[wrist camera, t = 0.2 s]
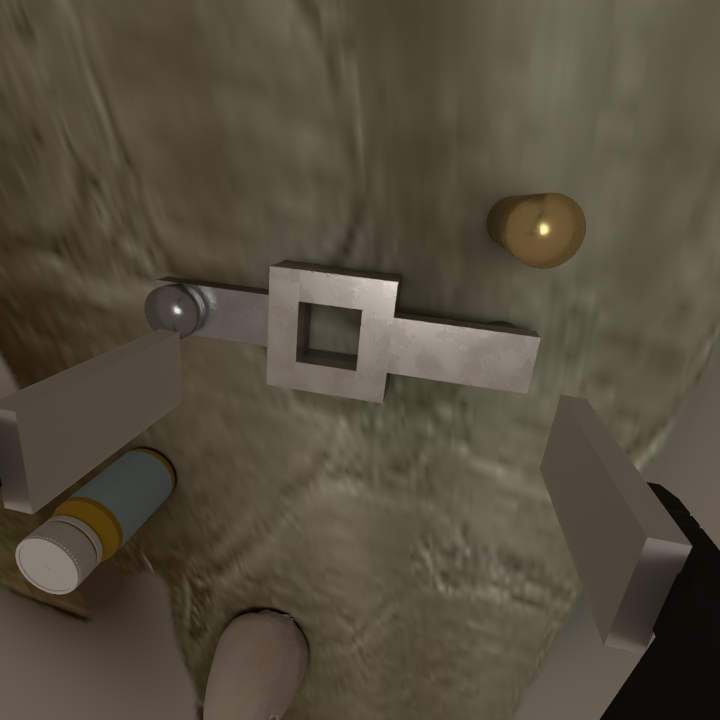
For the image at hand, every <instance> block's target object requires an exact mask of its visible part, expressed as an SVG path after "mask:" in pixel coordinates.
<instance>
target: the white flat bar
mask: <svg viewBox="0 0 720 720" xmlns="http://www.w3.org/2000/svg"><path fill="white" fill-rule="evenodd" d="M401 280H402V275H399V274H391V273H383V272H375V271H367V270H358V269H350V268H342V267H334V266H326V265H318V264H310V263H302V262H294V261H286V260H285V261H282V262H279V263H277V264H274V265H271V266H270V273H269V290H264V289H257V288H249V287H242V286H234V285H227V284H219V283H212V282H204V281H197V280H189V279H182V278H174V277H165V278H161V279H157V280H156V289H154V290H153V291H152V292H151V293H150V294H149V295H148V297H147V299H146V302H145V315H146V318H147V321H148V323H149V325H150V326H151V327H152V329H153V330H154V331H156V330H158V329H163V330H169V331H175V332H180V339H182V338H184V337H186V336H188V335H194V336H200V337H207V338H213V339H220V340H227V341H233V342H240V343H247V344H253V345H260V346H266V347H268V349H267V385H273V386H279V387H285V388H291V389H297V390H303V391H310V392H316V393H322V394H328V395H334V396H340V397H346V398H353V399H359V400H365V401H371V402H377V403H383V401H384V398H385V395H386V392H387V388H388V383H389V375H390V373H392V374H399V375H405V376H412V377H418V378H425V379H431V380H438V381H444V382H451V383H458V384H464V385H471V386H477V387H484V388H490V389H497V390H503V391H510V392H516V393H523V394H527V393H528V389H529V384H530V380H531V376H532V372H533V368H534V364H535V360H536V356H537V352H538V347H539V343H540V339H541V337H540V336H539V334H538V333H537V332H536V331H531V330H523V329H519V328H517V327H516V326H515V325H513V324H511V323H508V322H504V321H495V322H490V323H487V324H479V323H472V322H464V321H457V320H449V319H442V318H435V317H427V316H420V315H412V314H405V313H398V304H399V296H400V288H401ZM311 303H315V304H323V305H330V306H337V307H345V308H352V309H359V310H362V318H361V328H360V339H359V349H358V356H355V355H348V354H341V353H334V352H328V351H321V350H314V349H308V342H309V325H310V308H311Z"/></svg>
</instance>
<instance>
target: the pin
mask: <svg viewBox="0 0 720 720" xmlns="http://www.w3.org/2000/svg"><path fill="white" fill-rule="evenodd" d="M487 229H488V232H489V235H490V236H491V238H492V239H493V240H494V241H495V242H497V243H498V244H499V245H500V246H502V247H503V248H504V249H506V250H507V251H508V252H509V253H511V254H512V255H513V256H514V257H516V258H517V259H518V260H520V261H521V262H522V263H524V264H526V265H528V266H530V267H533V268H540V269H545V268H552V267H555V266H558V265H560V264H563V263H564V262H566V261H567V260H569V259H570V258H571V257H572V256H573V255H574V254H575V253H576V252H577V251H578V249H579V248H580V246H581V244H582V242H583V239H584V236H585V232H586V221H585V216H584V214H583V211H582V210H581V208H580V206H579V205H578V204H577V203H576V202H575V201H574V200H573V199H571V198H570V197H568V196H566V195H563V194H558V193H543V194H531V195H520V196H510V197H506V198H503V199H502V200H500V201H498V202H497V203H496V204H495V205H494V206H493V207H492V209H491V210H490V212H489V215H488V218H487Z"/></svg>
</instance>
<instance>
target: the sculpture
mask: <svg viewBox="0 0 720 720" xmlns="http://www.w3.org/2000/svg"><path fill="white" fill-rule="evenodd" d="M307 663H308V647H307V644H306V641H305V638H304V637H303V634H302V632H301V631H300V630H299V629H298V628H297V626H296V625H295V624H294V619H293V618H290V617H289V616H288V615H282V614H279V613H276V612H271V611H270V610H263V611H260V612H258V613H251V612H250V613H246V614H244V615H241V616H239V617H237V618H235V619H234V620H233V621H232V622H231V623H230V624H229V625H228V626H227V628H226V629H225V631H224V632H223V634H222V636H221V638H220V640H219V642H218V645H217V649H216V652H215V656H214V660H213V663H212V666H211V670H210V674H209V679H208V684H207V689H206V695H205V703H204V720H280V719H281V718H282V716H283V714H284V713H285V711H286V710H287V708H288V707H289V705H290V703H291V701H292V699H293V697H294V696H295V694H296V692H297V690H298V688H299V686H300V684H301V681H302V679H303V677H304V674H305V671H306V667H307Z"/></svg>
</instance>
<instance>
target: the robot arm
mask: <svg viewBox="0 0 720 720" xmlns="http://www.w3.org/2000/svg"><path fill="white" fill-rule="evenodd" d="M181 402H182V399H181V365H180V332H175V331H169V330H163V329H158V330H156V331H154V332H152V333H149V334H147V335H145V336H142V337H140V338H138V339H136V340H133V341H131V342H129V343H127V344H124V345H122V346H120V347H117V348H115V349H113V350H111V351H108V352H106V353H104V354H102V355H99V356H97V357H95V358H92V359H90V360H88V361H86V362H83V363H81V364H79V365H77V366H74V367H72V368H70V369H67V370H65V371H63V372H61V373H58V374H56V375H54V376H52V377H49V378H47V379H45V380H42V381H40V382H38V383H36V384H33V385H31V386H29V387H27V388H24V389H22V390H20V391H17V392H15V393H13V394H11V395H9V396H6V397H4V398H2V399H0V487H1V491H2V496H3V502H4V507H5V508H8V509H12V510H16V511H21V512H25V513H29V514H34V513H35V512H36V511H38V510H39V509H40V508H42V507H43V506H44V505H45V504H47V503H48V502H50V501H51V500H52V499H54V498H55V497H56V496H58V495H59V494H60V493H62V492H63V491H64V490H65V489H67V488H68V487H69V486H71V485H72V484H73V483H75V482H76V481H77V480H79V479H80V478H81V477H83V476H84V475H85V474H87V473H88V472H89V471H91V470H92V469H93V468H95V467H96V466H97V465H99V464H100V463H101V462H103V461H104V460H105V459H107V458H108V457H109V456H111V455H112V454H113V453H115V452H116V451H117V450H119V449H120V448H121V447H123V446H124V445H125V444H127V443H128V442H129V441H130V440H132V439H133V438H134V437H136V436H137V435H138V434H140V433H141V432H142V431H144V430H145V429H146V428H148V427H149V426H150V425H152V424H153V423H154V422H156V421H157V420H158V419H160V418H161V417H162V416H164V415H165V414H166V413H168V412H169V411H170V410H172V409H173V408H174V407H176V406H177V405H178V404H180V403H181ZM540 470H541V473H542V475H543V478H544V481H545V484H546V486H547V489H548V492H549V495H550V498H551V500H552V503H553V506H554V509H555V511H556V514H557V517H558V520H559V523H560V525H561V528H562V531H563V534H564V536H565V539H566V542H567V545H568V548H569V550H570V553H571V556H572V559H573V562H574V564H575V567H576V570H577V573H578V575H579V578H580V581H581V584H582V587H583V589H584V592H585V595H586V598H587V600H588V603H589V606H590V609H591V611H592V614H593V617H594V620H595V623H596V625H597V628H598V631H599V634H600V636H601V639H602V642H603V645H604V646H608V647H613V648H617V649H622V650H626V651H630V652H635V653H639V654H644V652H645V650H646V648H647V646H648V643H649V641H650V639H651V637H652V634H653V632H654V634H655V636H656V637H655V639H654V640H653V642H652V643H651V645H650V646H649V648H648V649H647V651H646V652H645V654H644V655H643V656H642V658H641V659H640V661H639V662H638V664H637V665H636V667H635V668H634V670H633V671H632V673H631V674H630V676H629V677H628V679H627V680H626V682H625V683H624V684H623V686H622V688H621V689H620V690H619V692H618V693H617V695H616V696H615V698H614V699H613V701H612V702H611V704H610V705H609V707H608V708H607V710H606V711H605V712H604V714H603V715H602V717H601V718H600V720H720V550H719V549H718V548H717V546H716V545H715V544H714V543H713V541H712V540H711V539H710V538H709V536H708V535H707V534H706V533H705V532H704V530H703V529H702V528H700V525H699V524H698V522H697V521H696V520H695V519H694V518H693V516H690V512H689V511H688V510H687V509H686V508H685V506H684V505H683V504H682V502H681V501H680V500H679V499H678V498H677V497H676V496H674V495H673V494H672V493H670V492H669V491H668V490H666V489H665V488H664V487H662V486H661V485H659V484H654V483H648V482H646V481H645V480H644V478H643V477H642V476H641V474H640V473H639V471H638V470H637V469H636V467H635V466H634V465H633V463H632V462H631V460H630V459H629V458H628V456H627V455H626V453H625V452H624V451H623V449H622V448H621V447H620V445H619V444H618V442H617V441H616V440H615V438H614V437H613V435H612V434H611V433H610V431H609V430H608V429H607V427H606V426H605V424H604V423H603V422H602V420H601V419H600V417H599V416H598V415H597V413H596V412H595V411H594V409H593V408H592V406H591V405H590V404H589V402H588V401H587V400H586V399H583V398H577V397H571V396H565V395H561V397H560V400H559V404H558V407H557V411H556V414H555V418H554V421H553V425H552V428H551V432H550V435H549V439H548V442H547V446H546V449H545V453H544V456H543V460H542V463H541V467H540Z"/></svg>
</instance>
